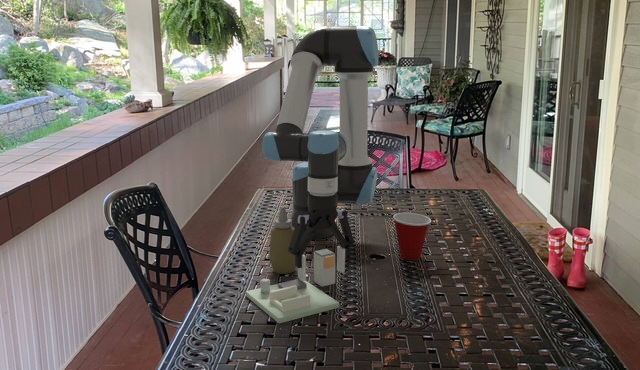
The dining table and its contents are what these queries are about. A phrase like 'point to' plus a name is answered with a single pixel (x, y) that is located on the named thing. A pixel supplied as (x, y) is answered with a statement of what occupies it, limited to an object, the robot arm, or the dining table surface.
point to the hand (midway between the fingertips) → (321, 275)
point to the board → (290, 299)
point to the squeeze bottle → (282, 244)
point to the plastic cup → (411, 234)
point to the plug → (324, 267)
